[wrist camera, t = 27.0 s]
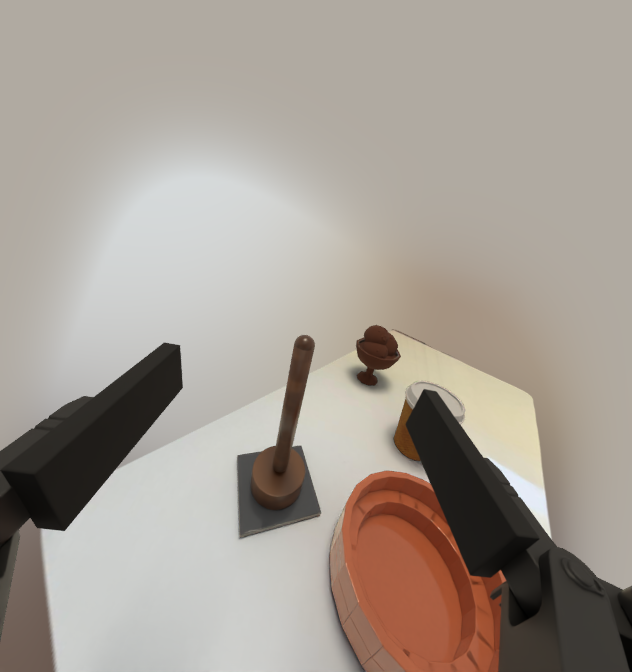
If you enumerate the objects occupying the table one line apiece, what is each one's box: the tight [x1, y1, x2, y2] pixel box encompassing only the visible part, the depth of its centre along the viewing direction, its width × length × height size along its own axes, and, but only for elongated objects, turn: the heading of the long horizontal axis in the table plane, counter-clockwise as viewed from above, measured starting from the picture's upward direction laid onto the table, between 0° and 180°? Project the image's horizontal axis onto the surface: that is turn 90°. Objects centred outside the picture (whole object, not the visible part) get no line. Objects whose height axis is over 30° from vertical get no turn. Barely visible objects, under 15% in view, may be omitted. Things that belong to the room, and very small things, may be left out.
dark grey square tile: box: [237, 446, 321, 538], centre depth 32 cm, size 10×10×1 cm
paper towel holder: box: [251, 335, 315, 510], centre depth 27 cm, size 7×7×23 cm
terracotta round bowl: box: [330, 471, 506, 672], centre depth 24 cm, size 17×17×6 cm
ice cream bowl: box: [356, 325, 401, 385], centre depth 57 cm, size 11×11×15 cm
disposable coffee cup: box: [394, 381, 465, 461], centre depth 41 cm, size 10×10×12 cm
